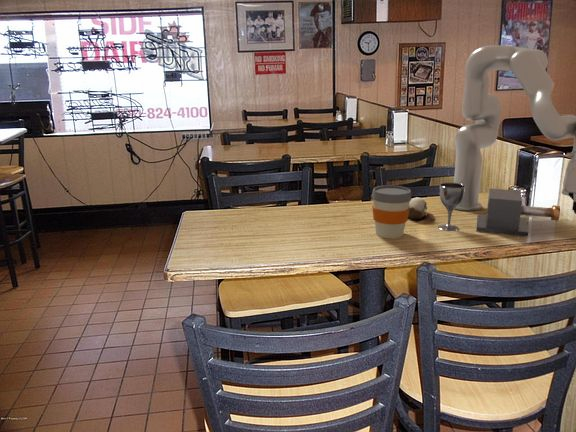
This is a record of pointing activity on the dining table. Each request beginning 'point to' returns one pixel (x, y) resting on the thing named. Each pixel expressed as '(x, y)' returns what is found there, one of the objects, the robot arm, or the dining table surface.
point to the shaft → (542, 212)
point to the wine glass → (451, 201)
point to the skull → (419, 211)
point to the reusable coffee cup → (390, 210)
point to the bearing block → (503, 214)
